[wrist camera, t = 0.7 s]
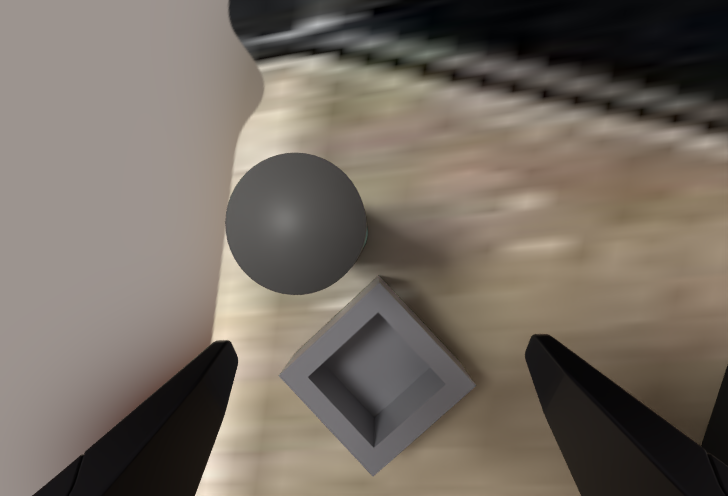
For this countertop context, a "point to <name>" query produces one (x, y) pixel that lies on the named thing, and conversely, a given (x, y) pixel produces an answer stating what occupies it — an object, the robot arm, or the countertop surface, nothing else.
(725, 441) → the electronic device
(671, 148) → the countertop surface
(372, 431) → the socket block
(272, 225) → the peg
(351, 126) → the countertop surface
